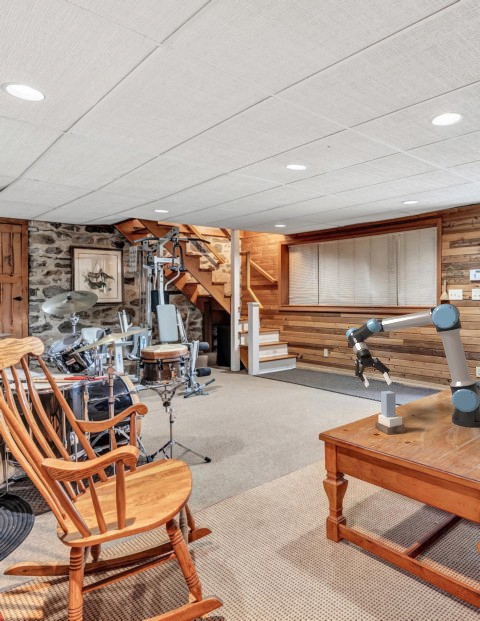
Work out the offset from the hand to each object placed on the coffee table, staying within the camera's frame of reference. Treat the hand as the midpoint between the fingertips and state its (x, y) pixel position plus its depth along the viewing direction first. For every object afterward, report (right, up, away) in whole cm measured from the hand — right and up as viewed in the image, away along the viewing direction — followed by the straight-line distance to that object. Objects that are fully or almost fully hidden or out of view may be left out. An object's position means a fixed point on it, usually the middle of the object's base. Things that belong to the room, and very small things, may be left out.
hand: (379, 385), depth 215 cm
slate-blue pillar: (+3, -15, -5) cm, 16 cm away
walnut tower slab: (+4, -23, -5) cm, 24 cm away
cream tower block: (+4, -19, -6) cm, 20 cm away
